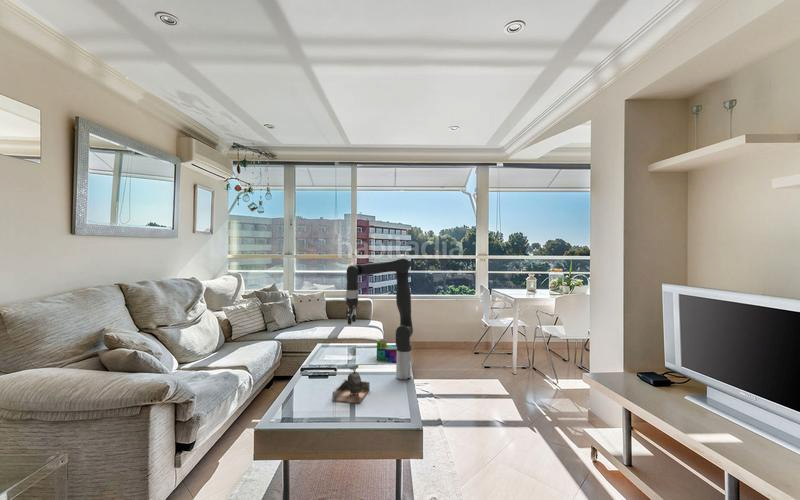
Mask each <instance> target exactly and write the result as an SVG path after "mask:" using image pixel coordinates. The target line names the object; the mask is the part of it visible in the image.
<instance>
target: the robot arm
mask: <svg viewBox="0 0 800 500" xmlns="http://www.w3.org/2000/svg"><path fill="white" fill-rule="evenodd" d="M410 268H411V262H410V261H409V260H408V258H405V257H399V258H397V259H395V260H391V261H384V262H370V263H369V262H368V263H363V264H351V265H349V266H347V269H346V293H345V305H347V306H348V307H347V308H346V312H345V313H346V315H345V317H346V319H347V325H348V326H349V325H350V326H351V325H352V323H355V322H356V321H357V315H358V305H359V282H358V279H359V276H362V275H364V276H368V275H369V276H370V275H377V274H383V273H394V272H395V273H396V287H395V288H396V290H395V294H396V295H395V299H396V307H397V309H398V313H399V320H400V323H399V326H398V327H397V328H396V330H395V345H396V347H397V360H396V363H395V364H396V367H395V368H396V370H395V372H396V373H395V375H396V376H395V377H396V379H398V380H402V379H406V380H408V379H407V378H410V376H411V377H412V369H413V368H412V363H413V362H412V345H411V344H410V343H411V337H412V335H413V333H414V328H413V320H412V296H411V287H410V286H411V285H410V282H409V270H410ZM410 379H411V378H410Z"/></svg>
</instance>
